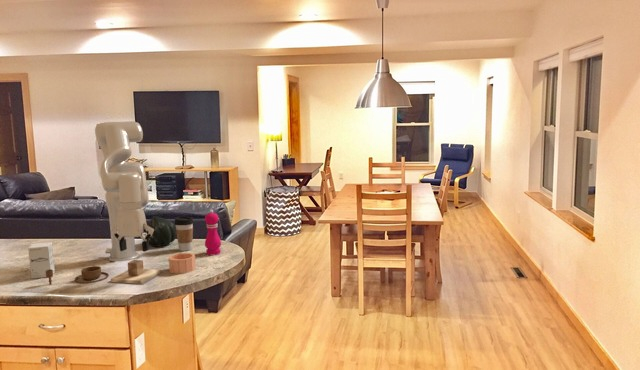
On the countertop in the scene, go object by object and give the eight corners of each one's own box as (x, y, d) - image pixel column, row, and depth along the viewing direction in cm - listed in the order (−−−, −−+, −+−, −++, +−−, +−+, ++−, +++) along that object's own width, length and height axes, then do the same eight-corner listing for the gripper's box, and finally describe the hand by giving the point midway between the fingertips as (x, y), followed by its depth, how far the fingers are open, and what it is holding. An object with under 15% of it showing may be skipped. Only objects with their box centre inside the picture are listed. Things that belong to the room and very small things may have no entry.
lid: (111, 281, 191) (109, 265, 190) (131, 271, 203) (130, 256, 202) (141, 283, 188) (140, 267, 187) (160, 272, 200) (159, 257, 199)
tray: (107, 284, 190) (106, 282, 190) (131, 271, 204) (130, 270, 204) (142, 286, 186) (142, 284, 186) (164, 273, 201) (164, 272, 201)
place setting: (90, 289, 186) (89, 274, 185) (43, 287, 190) (42, 271, 189) (119, 274, 203) (117, 260, 202) (75, 272, 207) (74, 258, 206)
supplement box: (30, 279, 198) (27, 247, 196) (35, 273, 205) (32, 243, 203) (51, 277, 200) (48, 246, 198) (55, 271, 207) (52, 241, 205)
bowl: (164, 274, 200) (163, 259, 199) (177, 266, 210) (176, 252, 209) (187, 275, 198) (186, 260, 197) (199, 267, 207) (199, 253, 207)
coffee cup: (178, 247, 240) (176, 216, 238) (196, 246, 241) (194, 215, 239) (174, 252, 232) (172, 220, 230) (193, 251, 232) (191, 219, 230)
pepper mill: (217, 255, 224) (215, 211, 221) (202, 255, 226) (200, 211, 223) (224, 251, 231) (222, 208, 228) (209, 250, 233) (207, 207, 230)
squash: (186, 230, 252) (164, 208, 250) (174, 238, 237) (152, 215, 236) (166, 248, 254) (145, 226, 253) (154, 257, 240) (132, 235, 239)
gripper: (104, 207, 190) (108, 252, 192) (145, 208, 185) (149, 253, 187) (117, 204, 197) (120, 247, 199) (156, 204, 193) (160, 248, 195)
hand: (134, 250), depth 193 cm, fingers open, 9 cm apart
